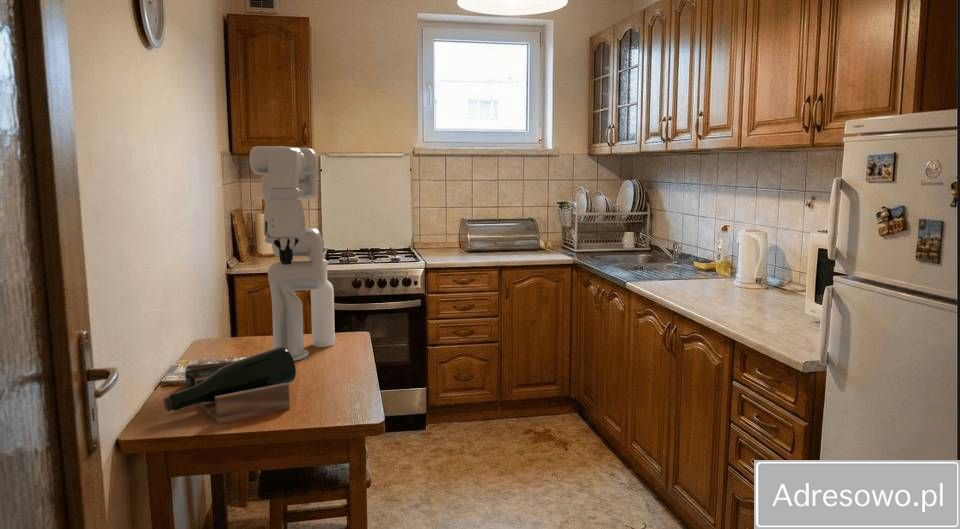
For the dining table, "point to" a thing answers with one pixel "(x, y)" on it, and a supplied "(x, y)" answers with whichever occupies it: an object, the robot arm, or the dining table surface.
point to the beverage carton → (201, 372)
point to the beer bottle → (238, 378)
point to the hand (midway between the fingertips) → (286, 263)
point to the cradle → (247, 403)
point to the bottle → (323, 313)
